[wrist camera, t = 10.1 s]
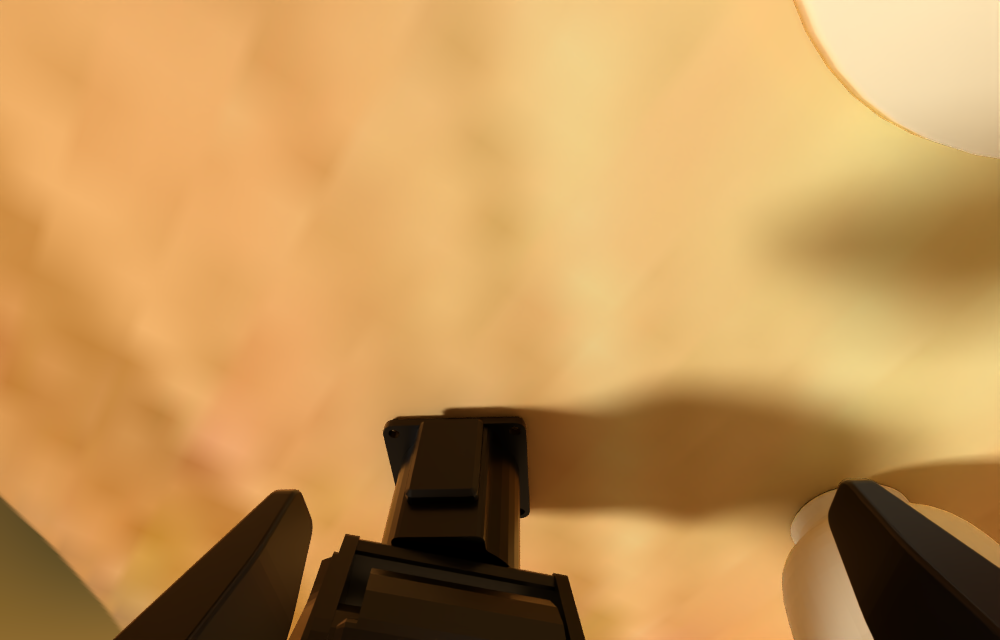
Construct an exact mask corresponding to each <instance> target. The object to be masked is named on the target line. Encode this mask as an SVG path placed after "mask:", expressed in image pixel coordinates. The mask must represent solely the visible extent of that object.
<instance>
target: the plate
mask: <svg viewBox="0 0 1000 640" xmlns="http://www.w3.org/2000/svg"><path fill="white" fill-rule="evenodd" d="M793 1H794V4H795V6H796V9H797V11H798V14H799V16H800V19H801V21H802V24H803V26H804V29H805V31H806V33H807V35H808V36H809V38H810V40H811V41H812V43H813V44H814V46H815V48H816V49H817V51H818V53H819V54H820V56H821V58H822V59H823V61H824V63H825V64H826V66H827V67H828V68H829V69H830V71H831V72H832V73H833V74H834V75H835V76H836V77H837V79H838V80H839V81H840V82H841V83H842V84H843V85H844V87H845V88H846V89H847V90H848V91H849V92H850V93H851V94H852V95H853V96H854V97H855V98H856V99H858V100H859V101H860V102H862V103H863V104H864V105H865V106H867V107H868V108H869V109H870V110H872V111H873V112H874V113H876V114H877V115H878V116H879V117H881V118H883V119H885V120H886V121H888V122H890V123H892V124H894V125H896V126H898V127H900V128H902V129H904V130H905V131H907V132H909V133H911V134H913V135H916V136H919V137H922V138H925V139H928V140H931V141H934V142H937V143H940V144H943V145H946V146H949V147H952V148H955V149H958V150H961V151H965V152H968V153H971V154H974V155H980V156H986V157H993V158H999V159H1000V0H793Z"/></svg>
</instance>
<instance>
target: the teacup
mask: <svg viewBox="0 0 1000 640" xmlns="http://www.w3.org/2000/svg"><path fill="white" fill-rule="evenodd" d="M881 486H882V487H884V488H885V489H887V490H888V491H889V492H891V493H892V494H894V495H895V496H897V497H898V498H900V499H901V500H902V501H904V502H905V503H907V504H908V505H910V506H911V507H913V508H914V509H915V510H917V511H918V512H920V513H921V514H923V515H924V516H926V517H927V518H928V519H930V520H931V521H933V522H934V523H936V524H937V525H939V526H940V527H941V528H943V529H944V530H946V531H947V532H949V533H950V534H952V535H953V536H954V537H956V538H957V539H959V540H960V541H962V542H963V543H965V544H966V545H967V546H969V547H970V548H972V549H973V550H975V551H976V552H978V553H979V554H980V555H982V556H983V557H985V558H986V559H988V560H989V561H991V562H992V563H993V564H995V565H996V566H998V567H999V568H1000V545H999V544H998V543H997V542H996V541H995V540H993V539H992V538H991V537H990V536H988V535H987V534H986V533H984V532H983V531H981V530H980V529H979V528H977V527H976V526H974V525H973V524H971V523H970V522H968V521H966V520H964V519H962V518H960V517H958V516H956V515H954V514H952V513H950V512H948V511H945V510H942V509H939V508H936V507H933V506H928V505H923V504H915V503H910V502H909V501H908V499H907V498H906V497H905V496H904V495H903V494H902V493H900V492H899V491H897V490H895V489H893V488H891V487H888V486H884V485H881ZM836 491H837V489H834V490H831V491H828V492H826V493H824V494H822V495H819V496H817V497H816V498H814V499H812V500H811V501H810V502H808V503H807V504H806V505H805V506H804V507H803V508H802V509H801V510H800V511H799V512H798V513H797V515H796V516H795V518H794V519H793V522H792V524H791V537H792V540H793V541H794V543H795V546H794V547H793V549H792V550H791V552H790V553H789V555H788V557H787V560H786V562H785V566H784V569H783V574H782V591H783V600H784V605H785V609H786V613H787V617H788V621H789V625H790V628H791V631H792V635H793V638H794V640H874V639H873V637H872V635H871V633H870V631H869V628H868V626H867V624H866V622H865V620H864V617H863V615H862V612H861V610H860V607H859V605H858V602H857V599H856V597H855V594H854V591H853V589H852V586H851V583H850V581H849V578H848V575H847V573H846V570H845V567H844V565H843V562H842V559H841V557H840V554H839V551H838V549H837V546H836V543H835V541H834V538H833V535H832V533H831V530H830V527H829V523H828V511H829V508H830V506H831V503H832V501H833V498H834V496H835V493H836Z"/></svg>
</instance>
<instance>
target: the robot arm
mask: <svg viewBox="0 0 1000 640" xmlns="http://www.w3.org/2000/svg"><path fill="white" fill-rule="evenodd" d="M512 427H518V429H512ZM392 430H396V431H398V432H394V431H392ZM383 436H384V440H385V444H386V448H387V452H388V457H389V461H390V465H391V469H392V473H393V477H394V482H395V486H396V487H395V491H394V495H393V499H392V503H391V507H390V511H389V515H388V519H387V523H386V527H385V531H384V535H383V539H382V543H378V542H373V541H367V540H362V539H360V536H355V535H349V534H346V535H345V537H344V540H343V543H342V545H341V548H340V551H339V552H334V553H333V556H332V557H330V558H327V559H325V560H322V562H321V565H320V568H319V571H318V574H317V577H316V579H315V582H314V585H313V588H312V591H311V594H310V596H309V599H308V601H307V604H306V606H305V608H304V610H303V612H302V614H301V616H300V618H299V620H298V622H297V624H296V626H295V628H294V630H293V632H292V634H291V636H290V638H289V640H585V637H584V634H583V630H582V626H581V623H580V619H579V616H578V612H577V608H576V605H575V601H574V597H573V594H572V590H571V587H570V583H569V579H568V576H566V575H561V574H555V573H553V574H552V575H548V574H542V573H537V572H532V571H526V570H521V569H520V518H524V517H526V516H528V515H529V512H530V504H529V482H528V460H527V438H526V423H525V421H524V420H523V419H522V418H519V417H481V418H443V419H404V420H390V421H388V422H387V423H386V424H385V427H384V430H383ZM828 523H829V527H830V530H831V533H832V535H833V538H834V541H835V543H836V546H837V549H838V551H839V554H840V557H841V559H842V562H843V565H844V567H845V570H846V573H847V575H848V578H849V581H850V583H851V586H852V589H853V591H854V594H855V597H856V599H857V602H858V605H859V607H860V610H861V612H862V615H863V617H864V620H865V622H866V624H867V626H868V628H869V631H870V633H871V635H872V637H873V639H874V640H1000V568H999V567H998V566H996V565H995V564H993V563H992V562H991V561H989V560H988V559H986V558H985V557H983V556H982V555H980V554H979V553H978V552H976V551H975V550H973V549H972V548H970V547H969V546H967V545H966V544H965V543H963V542H962V541H960V540H959V539H957V538H956V537H954V536H953V535H952V534H950V533H949V532H947V531H946V530H944V529H943V528H941V527H940V526H939V525H937V524H936V523H934V522H933V521H931V520H930V519H928V518H927V517H926V516H924V515H923V514H921V513H920V512H918V511H917V510H915V509H914V508H913V507H911V506H910V505H908V504H907V503H905V502H904V501H902V500H901V499H900V498H898V497H897V496H895V495H894V494H892V493H891V492H889V491H888V490H887V489H885V488H884V487H882V486H881V485H879V484H878V483H876V482H874V481H872V480H869V479H845V480H843V481H842V482H841V483H840V484H839V486H838V488H837V491H836V493H835V496H834V498H833V501H832V503H831V506H830V508H829V511H828ZM311 535H312V519H311V516H310V514H309V511H308V508H307V506H306V503H305V501H304V498H303V495H302V493H301V492H300V491H299V490H296V489H289V490H276V491H274V492H272V493H271V494H270V495H269V496H267V497H266V498H265V499H264V500H263V501H262V502H261V503H260V504H259V505H258V506H257V507H256V508H254V509H253V510H252V511H251V512H250V513H249V514H248V515H247V516H246V517H245V518H244V519H243V520H241V521H240V522H239V523H238V524H237V525H236V526H235V527H234V528H233V529H232V530H231V531H230V532H229V533H227V534H226V535H225V536H224V537H223V538H222V539H221V540H220V541H219V542H218V543H217V544H216V545H214V546H213V547H212V548H211V549H210V550H209V551H208V552H207V553H206V554H205V555H204V556H203V557H202V558H200V559H199V560H198V561H197V562H196V563H195V564H194V565H193V566H192V567H191V568H190V569H189V570H187V571H186V572H185V573H184V574H183V575H182V576H181V577H180V578H179V579H178V580H177V581H176V582H174V583H173V584H172V585H171V586H170V587H169V588H168V589H167V590H166V591H165V592H164V593H163V594H162V595H160V596H159V597H158V598H157V599H156V600H155V601H154V602H153V603H152V604H151V605H150V606H149V607H147V608H146V609H145V610H144V611H143V612H142V613H141V614H140V615H139V616H138V617H137V618H136V619H134V620H133V621H132V622H131V623H130V624H129V625H128V626H127V627H126V628H125V629H124V630H123V631H122V632H120V633H119V634H118V635H117V636H116V637H115V638H114V639H113V640H287V637H288V633H289V630H290V627H291V624H292V620H293V615H294V611H295V607H296V603H297V598H298V594H299V589H300V585H301V580H302V576H303V571H304V567H305V562H306V558H307V553H308V549H309V544H310V540H311Z"/></svg>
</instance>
